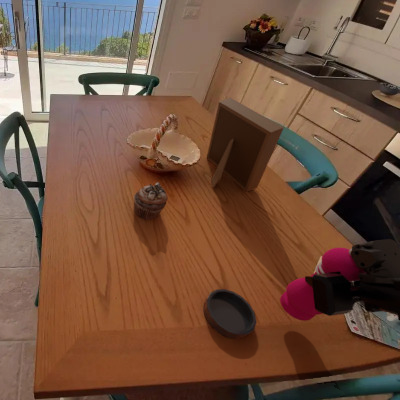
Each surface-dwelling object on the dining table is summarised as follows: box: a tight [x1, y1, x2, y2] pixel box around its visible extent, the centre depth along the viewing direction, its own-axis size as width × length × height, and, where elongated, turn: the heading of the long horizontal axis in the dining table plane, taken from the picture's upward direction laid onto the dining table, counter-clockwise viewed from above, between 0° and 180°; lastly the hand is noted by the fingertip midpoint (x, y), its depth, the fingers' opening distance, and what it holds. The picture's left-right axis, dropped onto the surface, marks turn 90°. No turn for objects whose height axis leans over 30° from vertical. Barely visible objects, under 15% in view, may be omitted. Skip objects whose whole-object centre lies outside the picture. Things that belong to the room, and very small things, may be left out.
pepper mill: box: [279, 247, 366, 322], centre depth 52 cm, size 7×7×20 cm
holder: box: [202, 288, 257, 340], centre depth 60 cm, size 10×10×2 cm
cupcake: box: [133, 182, 169, 221], centre depth 81 cm, size 10×10×10 cm
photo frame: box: [206, 97, 285, 193], centre depth 92 cm, size 15×22×25 cm
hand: (316, 277), depth 53 cm, fingers closed on pepper mill, 5 cm apart
